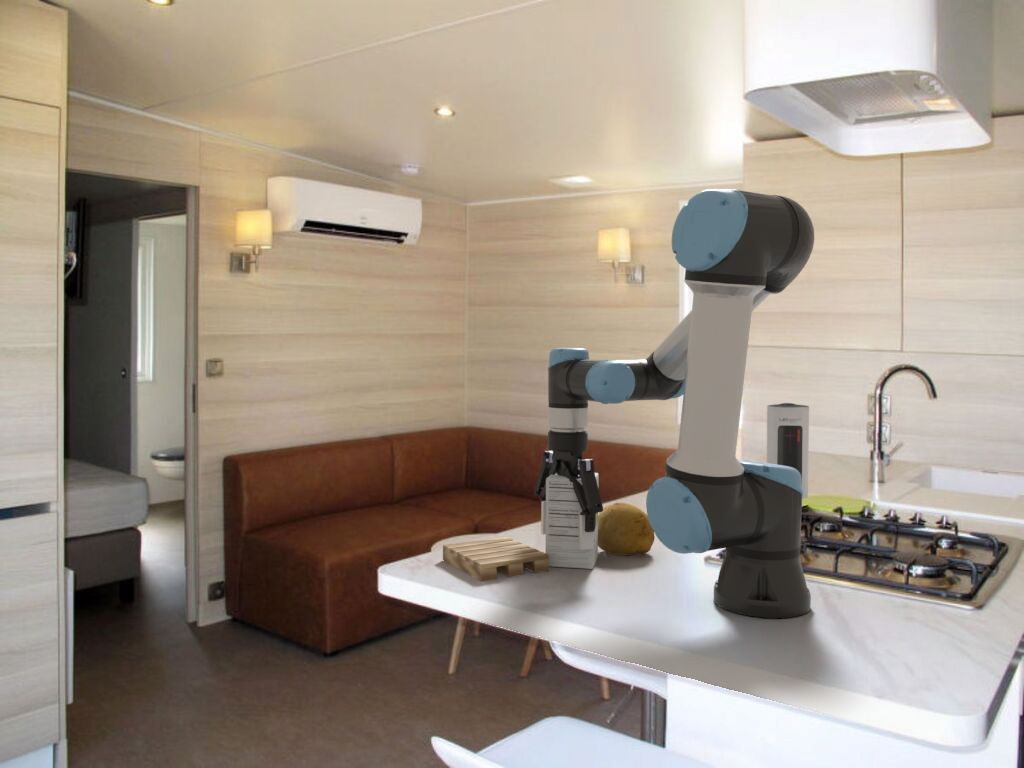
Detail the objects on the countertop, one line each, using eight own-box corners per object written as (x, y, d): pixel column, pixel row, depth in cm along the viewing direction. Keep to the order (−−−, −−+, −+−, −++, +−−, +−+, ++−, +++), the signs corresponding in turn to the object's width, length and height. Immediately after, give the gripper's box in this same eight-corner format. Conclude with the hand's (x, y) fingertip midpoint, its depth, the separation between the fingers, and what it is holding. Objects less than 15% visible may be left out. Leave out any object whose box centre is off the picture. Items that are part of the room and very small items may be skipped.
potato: (653, 561, 165) (654, 509, 164) (588, 557, 167) (589, 507, 167) (655, 548, 175) (655, 499, 174) (594, 545, 177) (594, 497, 177)
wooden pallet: (548, 570, 158) (548, 554, 158) (481, 581, 151) (481, 564, 151) (506, 551, 172) (506, 536, 171) (442, 560, 165) (442, 545, 164)
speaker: (762, 506, 218) (764, 404, 217) (767, 499, 228) (769, 401, 226) (806, 509, 214) (809, 405, 212) (809, 502, 224) (811, 402, 222)
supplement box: (593, 570, 158) (594, 479, 157) (544, 567, 160) (545, 478, 159) (598, 556, 168) (599, 471, 167) (551, 554, 170) (552, 470, 169)
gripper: (623, 435, 153) (621, 553, 154) (549, 422, 174) (548, 525, 176) (589, 437, 149) (587, 558, 151) (517, 423, 171) (517, 529, 172)
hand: (566, 540), depth 163 cm, fingers closed on supplement box, 13 cm apart
